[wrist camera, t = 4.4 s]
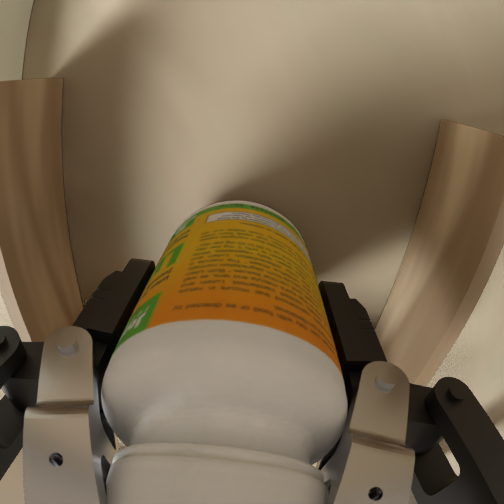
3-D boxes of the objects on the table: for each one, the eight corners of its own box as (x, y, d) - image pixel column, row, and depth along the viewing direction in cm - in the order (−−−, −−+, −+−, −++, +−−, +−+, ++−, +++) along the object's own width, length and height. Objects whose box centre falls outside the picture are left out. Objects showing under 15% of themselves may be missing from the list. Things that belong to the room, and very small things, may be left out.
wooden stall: (455, 125, 10) (531, 148, 6) (372, 360, 16) (394, 426, 12) (48, 80, 9) (-29, 88, 5) (77, 328, 15) (43, 387, 11)
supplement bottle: (181, 180, 10) (0, 452, 2) (328, 218, 11) (448, 501, 2) (162, 301, 13) (88, 525, 4) (282, 329, 13) (298, 556, 5)
